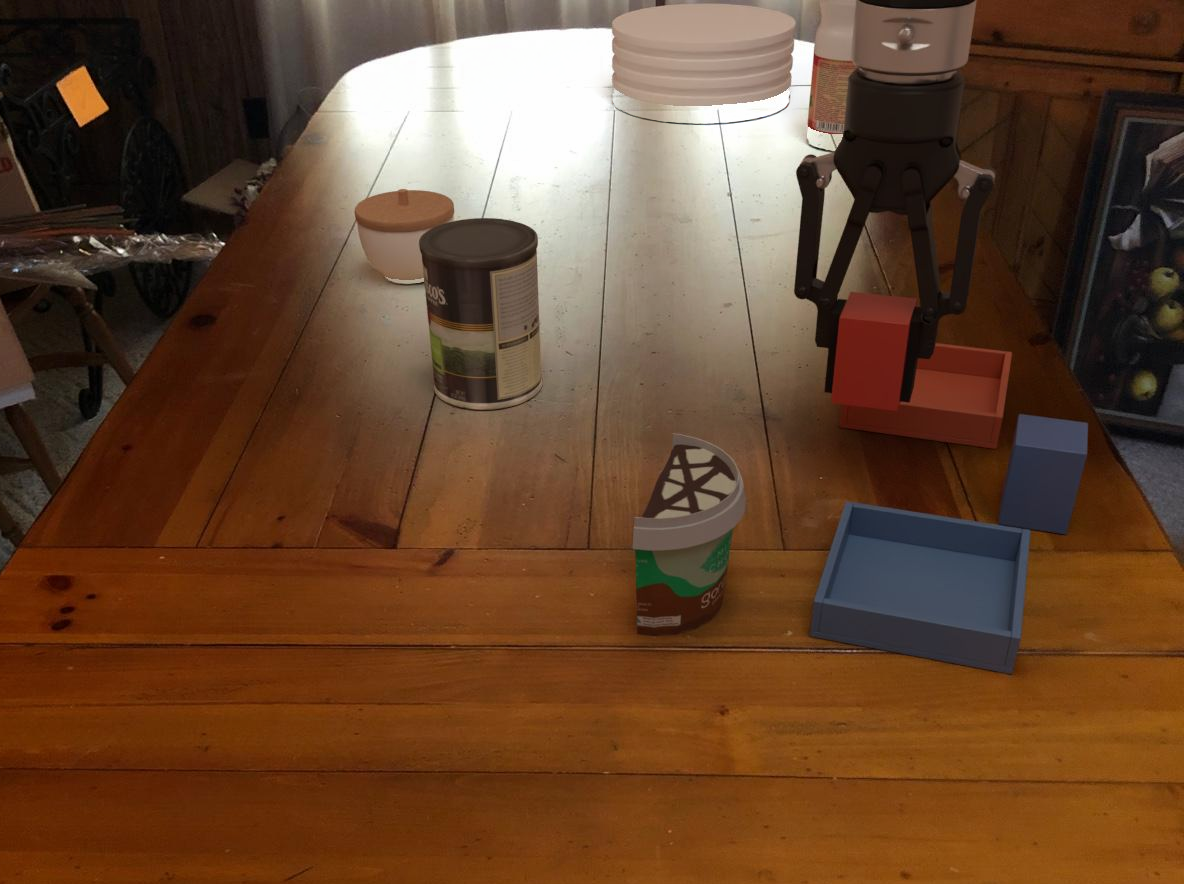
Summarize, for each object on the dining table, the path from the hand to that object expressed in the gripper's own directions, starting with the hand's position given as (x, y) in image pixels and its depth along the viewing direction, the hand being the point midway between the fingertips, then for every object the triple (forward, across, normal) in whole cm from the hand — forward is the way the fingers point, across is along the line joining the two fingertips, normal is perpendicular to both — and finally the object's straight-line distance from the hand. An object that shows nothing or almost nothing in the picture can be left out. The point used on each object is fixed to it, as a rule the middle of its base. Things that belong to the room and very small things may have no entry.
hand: (869, 389), depth 94 cm
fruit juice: (+8, -17, +92) cm, 94 cm away
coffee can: (+8, -35, +7) cm, 37 cm away
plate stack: (+8, -42, +110) cm, 118 cm away
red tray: (+8, +4, +15) cm, 17 cm away
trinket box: (+8, -54, +30) cm, 63 cm away
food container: (+8, -8, -20) cm, 23 cm away
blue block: (+8, +14, -1) cm, 16 cm away
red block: (0, 0, 0) cm, 0 cm away
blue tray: (+8, +7, -15) cm, 18 cm away
